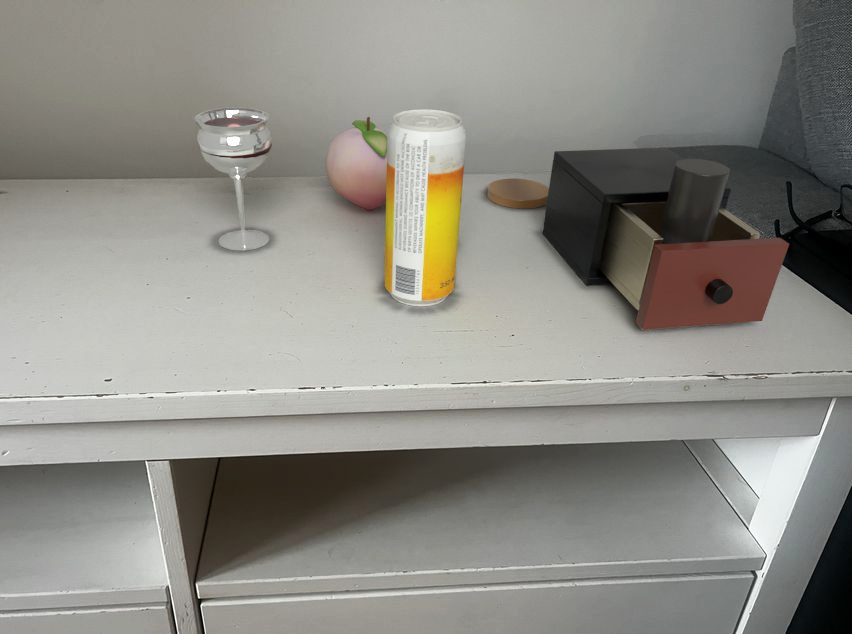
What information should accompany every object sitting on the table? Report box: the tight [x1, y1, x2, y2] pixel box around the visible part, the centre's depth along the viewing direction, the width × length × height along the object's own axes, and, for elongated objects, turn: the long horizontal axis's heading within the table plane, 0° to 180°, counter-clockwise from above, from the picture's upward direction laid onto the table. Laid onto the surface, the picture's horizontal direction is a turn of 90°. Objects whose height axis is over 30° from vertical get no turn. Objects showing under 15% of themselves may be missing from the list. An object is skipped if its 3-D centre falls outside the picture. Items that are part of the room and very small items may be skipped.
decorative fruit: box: [324, 116, 387, 211], centre depth 76 cm, size 9×8×10 cm
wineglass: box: [194, 106, 273, 252], centre depth 68 cm, size 7×7×12 cm
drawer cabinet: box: [542, 147, 732, 287], centre depth 68 cm, size 12×12×9 cm
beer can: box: [383, 108, 467, 307], centre depth 59 cm, size 6×6×15 cm
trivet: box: [486, 178, 549, 210], centre depth 82 cm, size 7×7×1 cm
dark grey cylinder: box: [658, 158, 731, 244], centre depth 59 cm, size 4×4×10 cm
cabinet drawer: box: [598, 200, 790, 331], centre depth 59 cm, size 12×10×7 cm
